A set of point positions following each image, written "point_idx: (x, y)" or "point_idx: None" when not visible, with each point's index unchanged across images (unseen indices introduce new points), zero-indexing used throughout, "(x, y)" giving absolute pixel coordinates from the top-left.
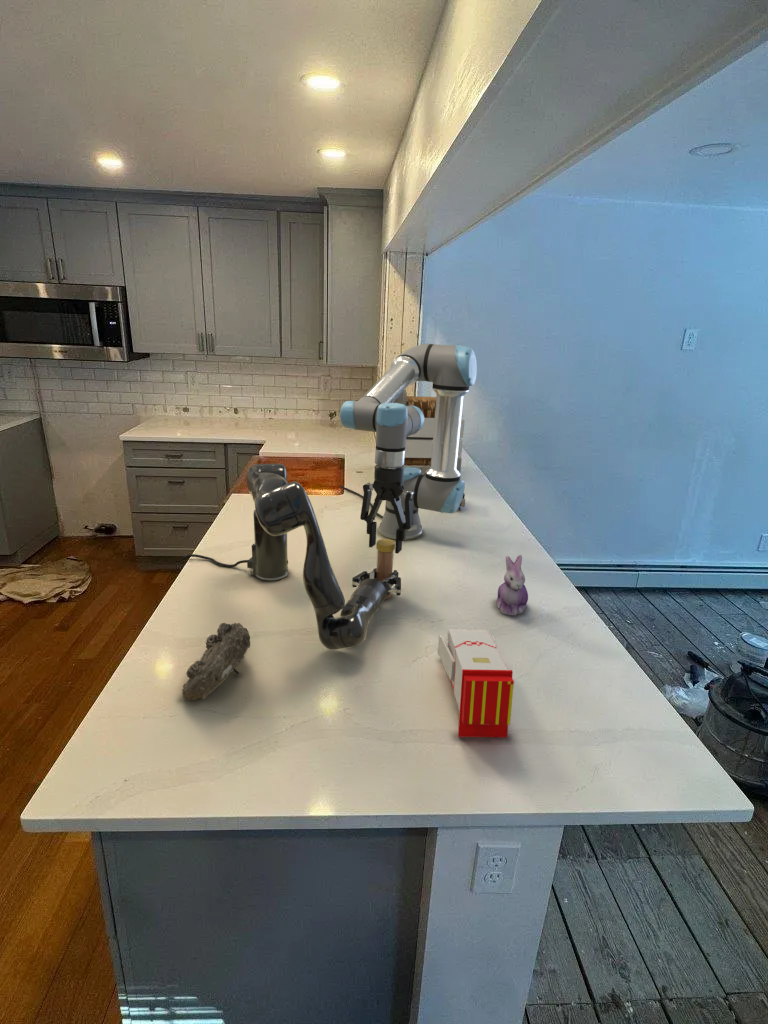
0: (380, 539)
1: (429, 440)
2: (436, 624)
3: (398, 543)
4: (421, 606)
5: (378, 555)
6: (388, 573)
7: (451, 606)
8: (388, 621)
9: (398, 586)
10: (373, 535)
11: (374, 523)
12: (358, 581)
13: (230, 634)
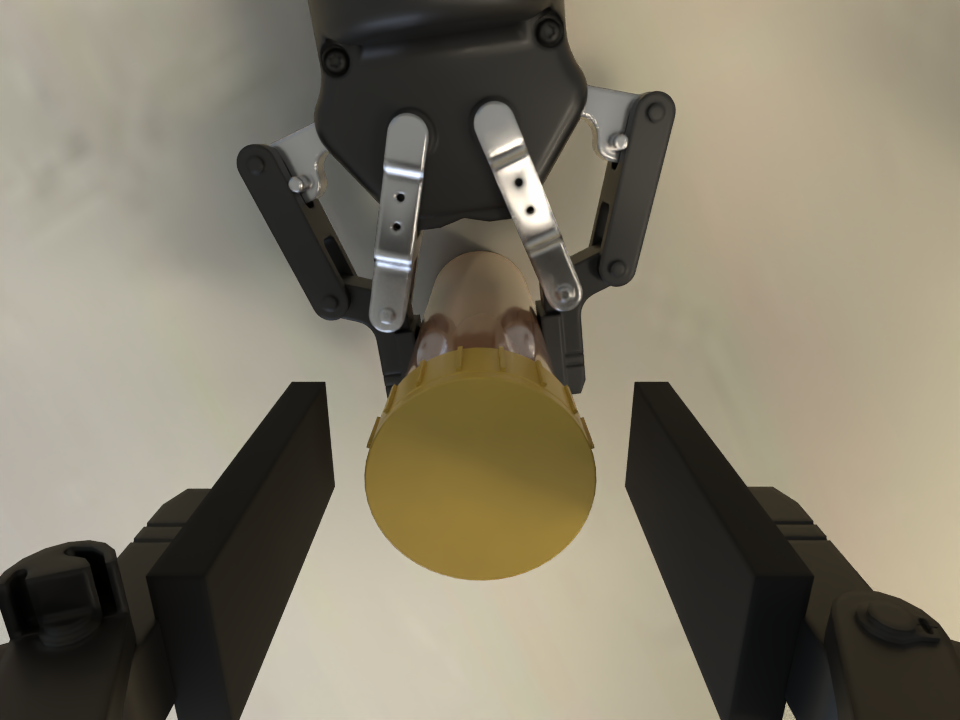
0: (576, 525)
1: None
2: (39, 128)
3: (249, 448)
4: (224, 289)
5: (528, 350)
6: (426, 317)
7: (84, 372)
8: (302, 2)
9: (254, 156)
10: (670, 500)
11: (739, 656)
12: (613, 120)
13: None
